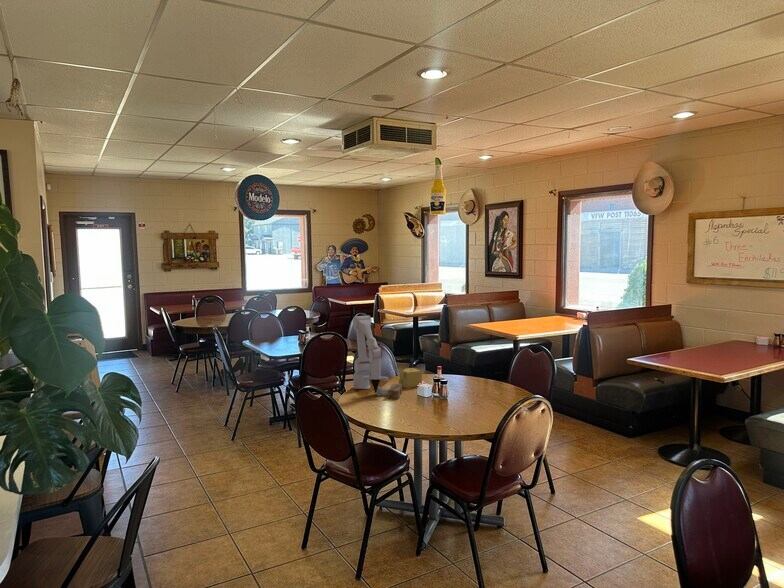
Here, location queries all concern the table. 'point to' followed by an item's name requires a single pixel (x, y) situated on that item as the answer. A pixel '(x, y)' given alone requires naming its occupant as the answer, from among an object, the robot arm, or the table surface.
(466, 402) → the table surface
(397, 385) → the walnut tunnel block
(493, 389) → the table surface
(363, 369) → the robot arm
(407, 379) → the cheese
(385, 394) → the steel key pin
